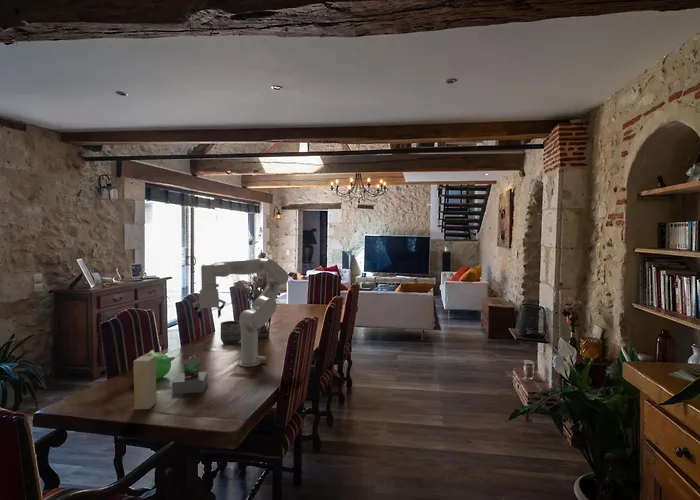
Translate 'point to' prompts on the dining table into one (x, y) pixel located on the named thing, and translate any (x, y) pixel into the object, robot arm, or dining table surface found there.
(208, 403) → the dining table surface
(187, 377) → the food container
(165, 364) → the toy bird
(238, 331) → the planter
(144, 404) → the beige tall block
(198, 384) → the grey block
